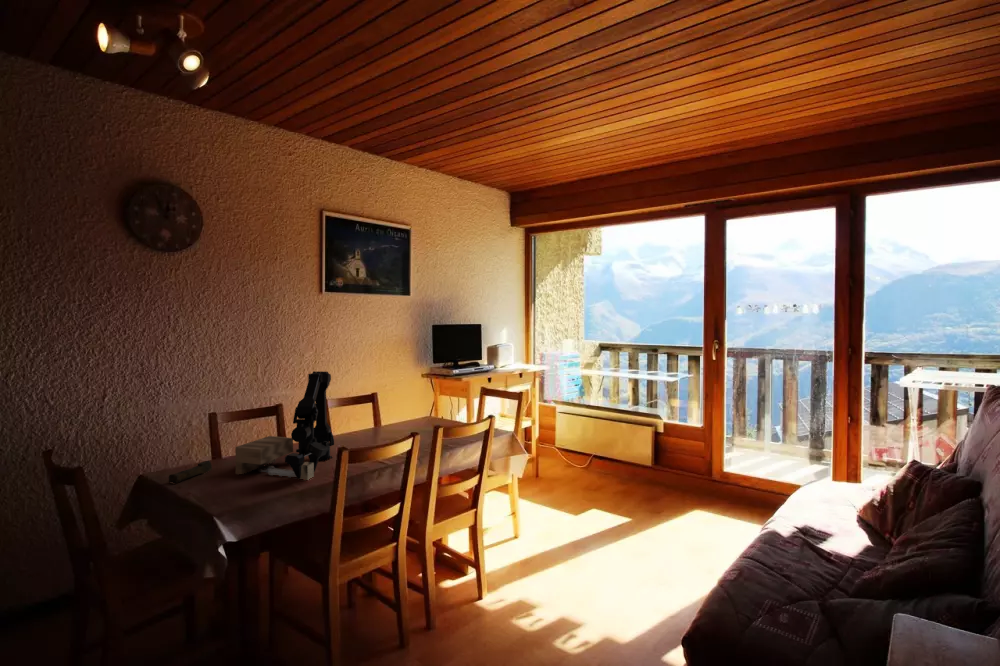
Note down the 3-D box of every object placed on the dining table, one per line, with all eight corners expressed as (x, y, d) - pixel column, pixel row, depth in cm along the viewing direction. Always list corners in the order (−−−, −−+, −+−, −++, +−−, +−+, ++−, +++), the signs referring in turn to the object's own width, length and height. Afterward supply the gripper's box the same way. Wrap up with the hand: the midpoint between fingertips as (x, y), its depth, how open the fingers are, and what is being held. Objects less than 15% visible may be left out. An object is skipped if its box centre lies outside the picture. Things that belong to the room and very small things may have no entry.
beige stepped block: (269, 460, 236) (269, 435, 235) (293, 463, 232) (293, 438, 232) (235, 474, 216) (235, 447, 216) (260, 477, 213) (260, 449, 213)
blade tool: (273, 472, 219) (273, 458, 218) (313, 477, 214) (313, 462, 213) (266, 475, 215) (266, 461, 215) (307, 480, 210) (307, 465, 209)
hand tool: (176, 485, 203) (176, 473, 202) (168, 484, 204) (167, 472, 204) (216, 471, 221) (216, 460, 220) (209, 470, 222) (209, 459, 222)
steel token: (265, 468, 226) (265, 464, 226) (277, 469, 224) (277, 466, 224) (254, 472, 220) (254, 468, 220) (267, 473, 218) (267, 470, 218)
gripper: (309, 443, 200) (309, 484, 201) (337, 432, 218) (337, 470, 219) (283, 440, 203) (284, 481, 204) (313, 430, 221) (313, 467, 222)
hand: (306, 475), depth 212 cm, fingers open, 9 cm apart
